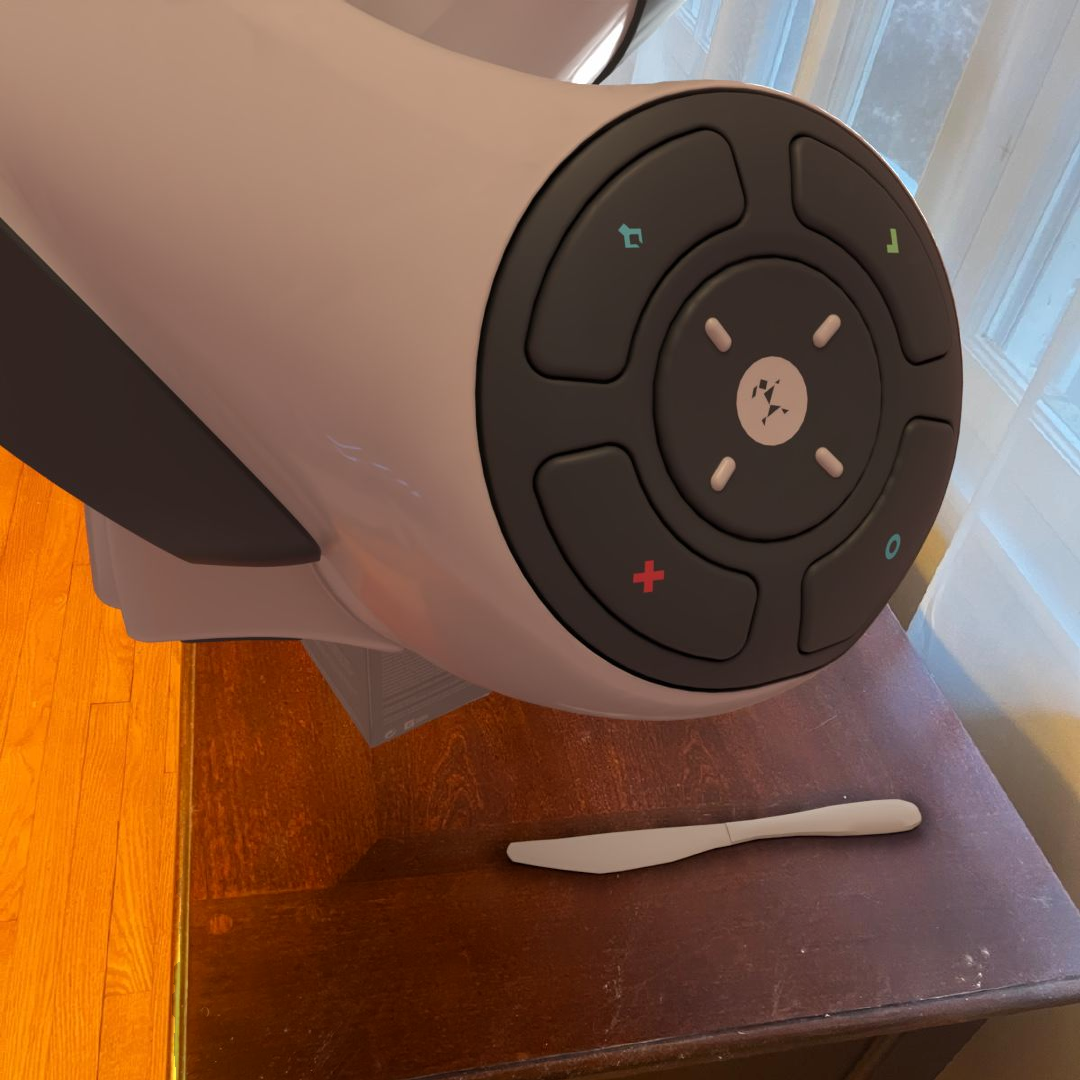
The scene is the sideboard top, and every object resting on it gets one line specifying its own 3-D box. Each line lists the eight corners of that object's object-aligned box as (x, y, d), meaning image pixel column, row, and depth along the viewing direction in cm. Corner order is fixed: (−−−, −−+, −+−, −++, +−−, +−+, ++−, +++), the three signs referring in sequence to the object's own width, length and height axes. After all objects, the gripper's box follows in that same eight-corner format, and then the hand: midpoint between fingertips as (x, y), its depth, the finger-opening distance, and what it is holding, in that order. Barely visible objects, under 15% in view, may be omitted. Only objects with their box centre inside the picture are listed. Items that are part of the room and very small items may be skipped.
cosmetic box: (495, 698, 45) (551, 419, 34) (351, 763, 41) (363, 474, 30) (405, 577, 49) (429, 296, 38) (268, 625, 46) (253, 331, 35)
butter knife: (933, 838, 62) (914, 794, 64) (511, 881, 56) (503, 832, 58) (929, 842, 62) (910, 799, 64) (509, 885, 57) (502, 836, 59)
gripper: (791, 354, 29) (617, 415, 42) (30, 386, 23) (103, 446, 36) (810, 565, 29) (630, 561, 43) (57, 653, 23) (120, 616, 36)
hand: (383, 508), depth 39 cm, fingers closed on cosmetic box, 7 cm apart
